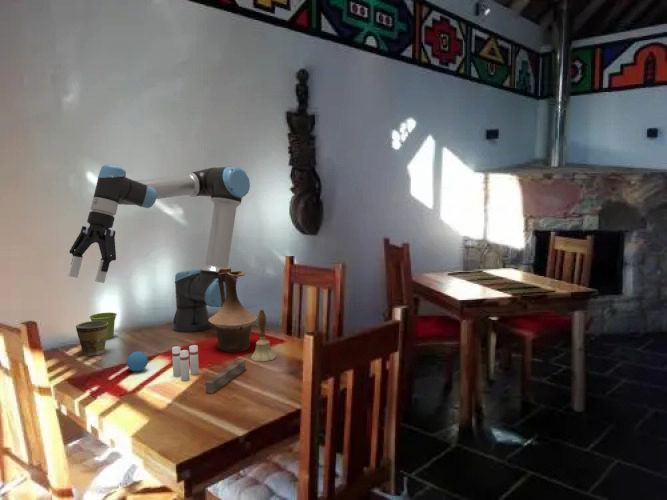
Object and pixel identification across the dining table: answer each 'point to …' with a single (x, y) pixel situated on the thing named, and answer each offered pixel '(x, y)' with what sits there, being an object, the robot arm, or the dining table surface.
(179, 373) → the front pin
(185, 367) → the pin
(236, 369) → the back wall
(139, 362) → the ball
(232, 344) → the pitcher
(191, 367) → the pin
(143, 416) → the dining table surface
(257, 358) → the hand bell
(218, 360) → the dining table surface
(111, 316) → the plant pot
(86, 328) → the ceramic cup
